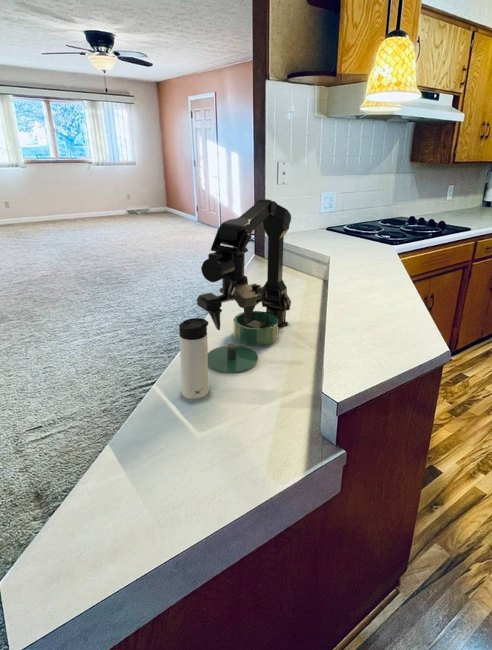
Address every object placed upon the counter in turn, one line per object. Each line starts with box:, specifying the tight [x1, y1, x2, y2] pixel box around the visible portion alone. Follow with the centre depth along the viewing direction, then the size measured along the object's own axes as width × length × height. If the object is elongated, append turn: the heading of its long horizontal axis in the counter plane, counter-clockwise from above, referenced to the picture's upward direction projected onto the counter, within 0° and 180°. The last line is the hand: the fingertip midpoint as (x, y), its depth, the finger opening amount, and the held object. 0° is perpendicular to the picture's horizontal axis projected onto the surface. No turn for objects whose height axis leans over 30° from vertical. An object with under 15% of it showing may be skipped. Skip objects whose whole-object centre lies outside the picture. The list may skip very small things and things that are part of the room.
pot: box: [232, 310, 279, 348], centre depth 129 cm, size 14×14×6 cm
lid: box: [208, 342, 259, 374], centre depth 115 cm, size 15×15×5 cm
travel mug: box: [178, 317, 209, 402], centre depth 96 cm, size 6×7×20 cm
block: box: [246, 320, 266, 328], centre depth 129 cm, size 4×4×4 cm
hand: (232, 325), depth 113 cm, fingers open, 9 cm apart
